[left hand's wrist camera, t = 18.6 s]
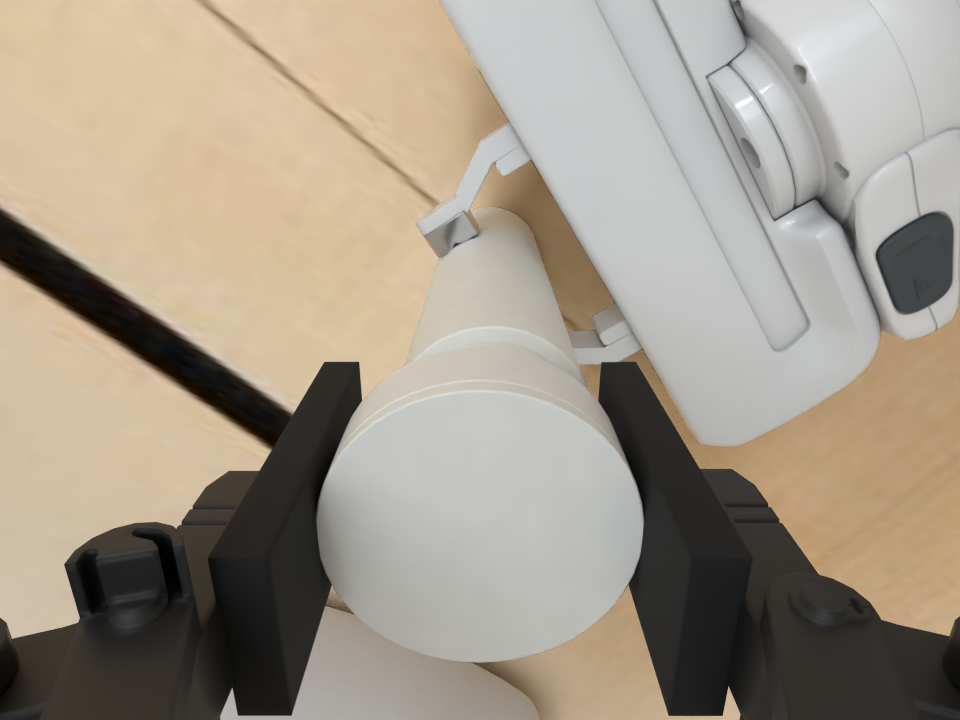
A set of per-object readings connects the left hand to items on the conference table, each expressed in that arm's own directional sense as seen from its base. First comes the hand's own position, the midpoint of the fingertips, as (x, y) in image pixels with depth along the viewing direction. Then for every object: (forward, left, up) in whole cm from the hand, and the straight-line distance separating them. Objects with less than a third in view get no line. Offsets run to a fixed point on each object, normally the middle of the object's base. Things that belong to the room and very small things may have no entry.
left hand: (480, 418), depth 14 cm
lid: (0, 0, +4) cm, 4 cm away
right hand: (-1, 0, -11) cm, 11 cm away
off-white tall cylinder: (0, 0, -17) cm, 17 cm away
